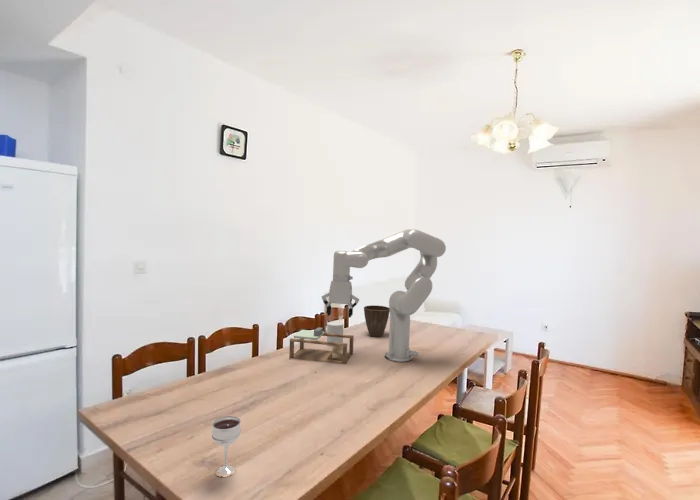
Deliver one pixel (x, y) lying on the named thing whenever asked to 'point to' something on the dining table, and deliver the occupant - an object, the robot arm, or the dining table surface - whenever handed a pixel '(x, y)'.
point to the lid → (310, 334)
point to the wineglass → (226, 436)
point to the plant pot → (376, 319)
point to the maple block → (337, 352)
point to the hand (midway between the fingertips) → (339, 315)
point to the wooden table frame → (321, 354)
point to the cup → (335, 331)
